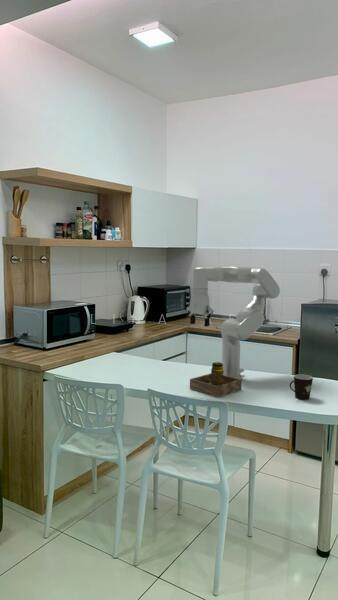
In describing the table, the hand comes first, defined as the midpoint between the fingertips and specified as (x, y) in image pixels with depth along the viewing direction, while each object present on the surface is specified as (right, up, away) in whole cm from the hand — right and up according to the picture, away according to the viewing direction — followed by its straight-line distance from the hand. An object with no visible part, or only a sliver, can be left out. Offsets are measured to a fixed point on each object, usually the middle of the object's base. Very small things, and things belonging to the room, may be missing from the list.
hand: (199, 325), depth 233 cm
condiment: (+7, -31, -7) cm, 32 cm away
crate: (+7, -31, -7) cm, 33 cm away
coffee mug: (+45, -33, -19) cm, 59 cm away
